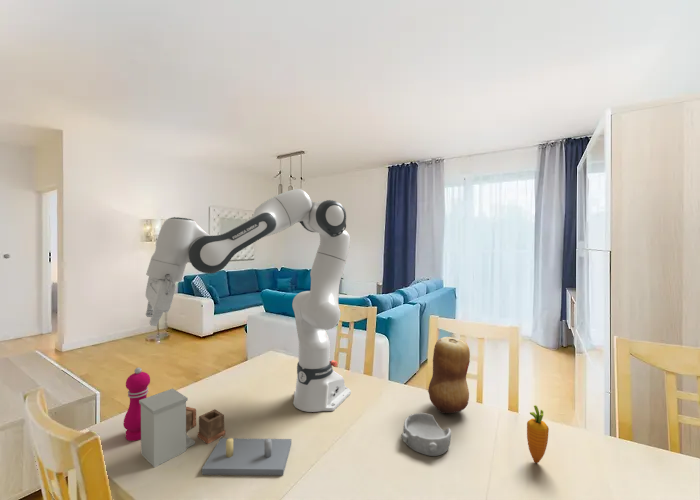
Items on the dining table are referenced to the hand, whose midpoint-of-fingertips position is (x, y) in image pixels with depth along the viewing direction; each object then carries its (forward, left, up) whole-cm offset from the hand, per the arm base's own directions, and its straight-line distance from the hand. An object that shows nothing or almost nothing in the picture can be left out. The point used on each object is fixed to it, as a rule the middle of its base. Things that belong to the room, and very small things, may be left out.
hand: (150, 320), depth 89 cm
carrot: (-59, +88, -35) cm, 112 cm away
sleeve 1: (-8, 0, -35) cm, 36 cm away
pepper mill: (+1, -7, -35) cm, 36 cm away
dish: (-49, +61, -35) cm, 86 cm away
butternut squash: (-70, +60, -35) cm, 99 cm away
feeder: (-2, +7, -35) cm, 36 cm away
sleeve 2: (-12, +10, -35) cm, 38 cm away
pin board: (-13, +27, -35) cm, 46 cm away
